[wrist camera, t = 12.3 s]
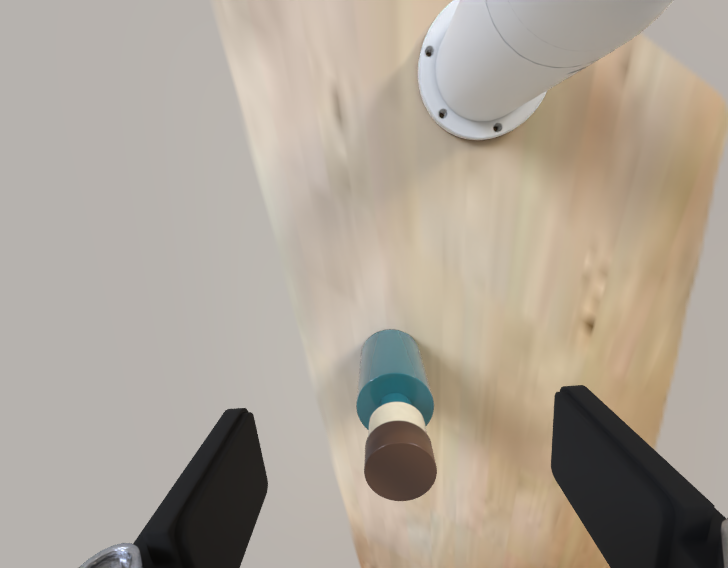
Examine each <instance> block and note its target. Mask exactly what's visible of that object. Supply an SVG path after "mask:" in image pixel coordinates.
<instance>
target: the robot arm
mask: <svg viewBox="0 0 728 568" xmlns="http://www.w3.org/2000/svg"><path fill="white" fill-rule="evenodd" d="M673 1H674V0H453V1H452V2H450V3H449V4H448V5H447V6H446V7H445V8H444V9H443V10H442V11H441V12H440V13H439V15H438V16H437V18H436V19H435V20H434V22H433V23H432V25H431V26H430V28H429V31H428V33H427V35H426V37H425V39H424V42H423V45H422V48H421V52H420V57H419V62H418V84H419V91H420V94H421V97H422V100H423V103H424V105H425V107H426V109H427V111H428V113H429V114H430V116H431V117H432V118H433V119H434V121H435V122H436V123H437V124H438V125H439V126H440V127H442V128H443V129H444V130H446V131H447V132H449V133H451V134H453V135H455V136H457V137H460V138H464V139H468V140H486V139H492V138H495V137H498V136H501V135H503V134H506V133H508V132H510V131H512V130H514V129H515V128H516V127H518V126H519V125H521V124H522V123H523V122H525V121H526V120H527V119H528V118H529V117H530V116H531V115H532V114H533V113H534V112H535V110H536V109H537V107H538V106H539V105H540V103H541V102H542V100H543V99H544V96H545V94H546V92H547V90H549V89H550V88H552V87H554V86H555V85H557V84H559V83H560V82H562V81H564V80H566V79H567V78H569V77H571V76H572V75H574V74H576V73H577V72H579V71H581V70H582V69H584V68H586V67H587V66H589V65H591V64H592V63H594V62H596V61H597V60H599V59H601V58H602V57H604V56H606V55H607V54H609V53H611V52H612V51H614V50H615V49H617V48H619V47H620V46H622V45H624V44H625V43H627V42H628V41H630V40H631V39H633V38H634V37H635V36H637V35H638V34H640V33H641V32H642V31H643V30H645V29H646V28H647V27H648V26H649V25H650V24H652V23H653V22H654V21H655V20H656V19H657V18H658V17H659V16H660V15H661V14H662V13H663V12H664V11H665V10H666V9H667V8H668V7H669V5H670V4H671V3H672V2H673ZM426 53H430V54H431V56H430V57H428V56H426ZM440 113H443V114H444V117H443V118H441V117H440V116H439V114H440ZM494 126H495V127H497V131H494V130H493V127H494ZM551 469H552V473H553V475H554V478H555V480H556V481H557V483H558V484H559V486H560V488H561V489H562V491H563V492H564V494H565V496H566V497H567V499H568V500H569V502H570V504H571V505H572V507H573V508H574V510H575V512H576V513H577V515H578V516H579V518H580V520H581V521H582V523H583V524H584V526H585V528H586V529H587V531H588V532H589V534H590V536H591V537H592V539H593V540H594V542H595V544H596V545H597V547H598V548H599V550H600V552H601V553H602V555H603V556H604V558H605V560H606V561H607V563H608V564H609V566H610V567H611V568H728V518H727V519H726V518H725V517H724V516H723V515H722V514H720V512H719V511H717V510H716V509H715V508H714V505H713V504H712V503H711V502H710V501H709V500H708V499H707V498H706V497H705V496H703V495H702V494H701V493H700V492H699V491H698V490H697V489H696V488H695V487H694V486H693V485H692V484H691V483H689V482H688V481H687V480H686V479H685V478H684V477H683V476H682V475H681V474H679V472H678V471H676V470H675V469H674V468H673V467H672V466H671V465H670V464H669V463H668V462H667V461H666V460H665V459H663V458H662V457H661V456H660V455H659V454H658V453H657V452H656V451H655V450H654V449H653V448H652V447H651V446H649V445H648V444H647V443H646V442H645V441H644V440H643V439H642V438H641V437H640V436H639V435H638V434H636V433H635V432H634V431H633V430H632V429H631V428H630V427H629V426H628V425H627V424H626V423H625V422H623V421H622V420H621V419H620V418H619V417H618V416H617V415H616V414H615V413H614V412H613V411H612V410H610V409H609V408H608V407H607V406H606V405H605V404H604V403H603V402H602V401H601V400H600V399H599V398H597V397H596V396H595V395H594V394H593V393H592V392H591V391H590V390H589V389H588V388H587V387H585V386H583V385H578V386H564V387H561V389H560V392H556V394H555V401H554V419H553V438H552V456H551ZM267 488H268V481H267V476H266V471H265V466H264V462H263V457H262V453H261V448H260V443H259V439H258V434H257V429H256V425H255V420H254V416H253V414H252V413H251V412H250V413H248V411H247V409H246V408H238V409H228V410H226V411H225V412H224V413H223V415H222V416H221V418H220V419H219V421H218V422H217V424H216V425H215V426H214V428H213V429H212V431H211V432H210V434H209V435H208V437H207V438H206V440H205V441H204V442H203V444H202V445H201V447H200V448H199V450H198V451H197V453H196V454H195V455H194V457H193V458H192V460H191V461H190V463H189V464H188V465H187V467H186V468H185V470H184V471H183V473H182V474H181V475H180V477H179V478H178V480H177V481H176V483H175V484H174V486H173V487H172V489H171V490H170V491H169V493H168V494H167V496H166V497H165V499H164V500H163V502H162V503H161V504H160V506H159V507H158V509H157V510H156V512H155V513H154V515H153V516H152V517H151V519H150V520H149V522H148V523H147V525H146V526H145V528H144V529H143V530H142V532H141V533H140V535H139V536H138V538H137V539H136V541H135V542H134V544H132V543H121V544H117V545H113V546H111V547H109V548H107V549H104V550H102V551H100V552H99V553H97V554H96V555H94V556H93V557H91V558H90V559H88V560H87V561H86V562H85V563H83V564H82V565H81V566H80V567H79V568H240V565H241V562H242V559H243V557H244V554H245V551H246V548H247V546H248V543H249V540H250V537H251V535H252V532H253V529H254V526H255V524H256V521H257V518H258V515H259V513H260V510H261V507H262V504H263V502H264V499H265V496H266V493H267Z"/></svg>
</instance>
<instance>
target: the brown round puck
mask: <svg viewBox="0 0 728 568" xmlns="http://www.w3.org/2000/svg"><path fill="white" fill-rule="evenodd" d="M364 473H365V478H366V481H367V483H368V485H369V486H370V488H371V489H372V490H373V491H374V492H375V493H377V494H378V495H380V496H382V497H384V498H386V499H389V500H394V501H407V500H412V499H415V498H418V497H420V496H422V495H423V494H425V493H426V492H427V491H428V490H429V489H430V488H431V487H432V485H433V484H434V482H435V479H436V474H437V468H436V463H435V459H434V454H433V449H432V445H431V441H430V438H429V437H428V435H427V434H426V432H425V431H424V430H423V429H422V428H420V427H419V426H417V425H416V424H413V423H411V422H407V421H400V420H396V421H389V422H386V423H383V424H381V425H379V426H378V427H376V428H375V429H374V430H373V431H372V432H371V433H370V435H369V436H368V438H367V441H366V445H365V467H364Z"/></svg>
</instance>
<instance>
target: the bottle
mask: <svg viewBox="0 0 728 568" xmlns="http://www.w3.org/2000/svg"><path fill="white" fill-rule="evenodd" d="M433 410H434V401H433V397H432V393H431V390H430V386H429V382H428V379H427V375H426V372H425V368H424V364H423V361H422V357H421V354H420V350H419V347H418V345H417V343H416V342H415V340H414V339H413V338H412V337H411V336H409V335H408V334H406V333H404V332H402V331H399V330H383V331H380V332H377V333H375V334H374V335H372V336H371V337H370V338H369V339H368V340H367V341H366V342H365V344H364V346H363V348H362V352H361V361H360V372H359V383H358V394H357V413H358V416H359V419H360V421H361V422H362V424H363V425H364V426H365V427H366V428H367V429H368V430H369V434H368V436H369V435H370V433H371V432H372V431H373V430H374V429H375V428H376V427H378V426H379V425H381V424H383V423H386V422H389V421H396V420H400V421H407V422H411V423H413V424H416V425H417V426H419V427H420V428H422V429H423V430H424V431H425V432H426V434H427V431H426V426H427V424H428V423H429V421H430V420H431V417H432V415H433Z"/></svg>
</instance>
